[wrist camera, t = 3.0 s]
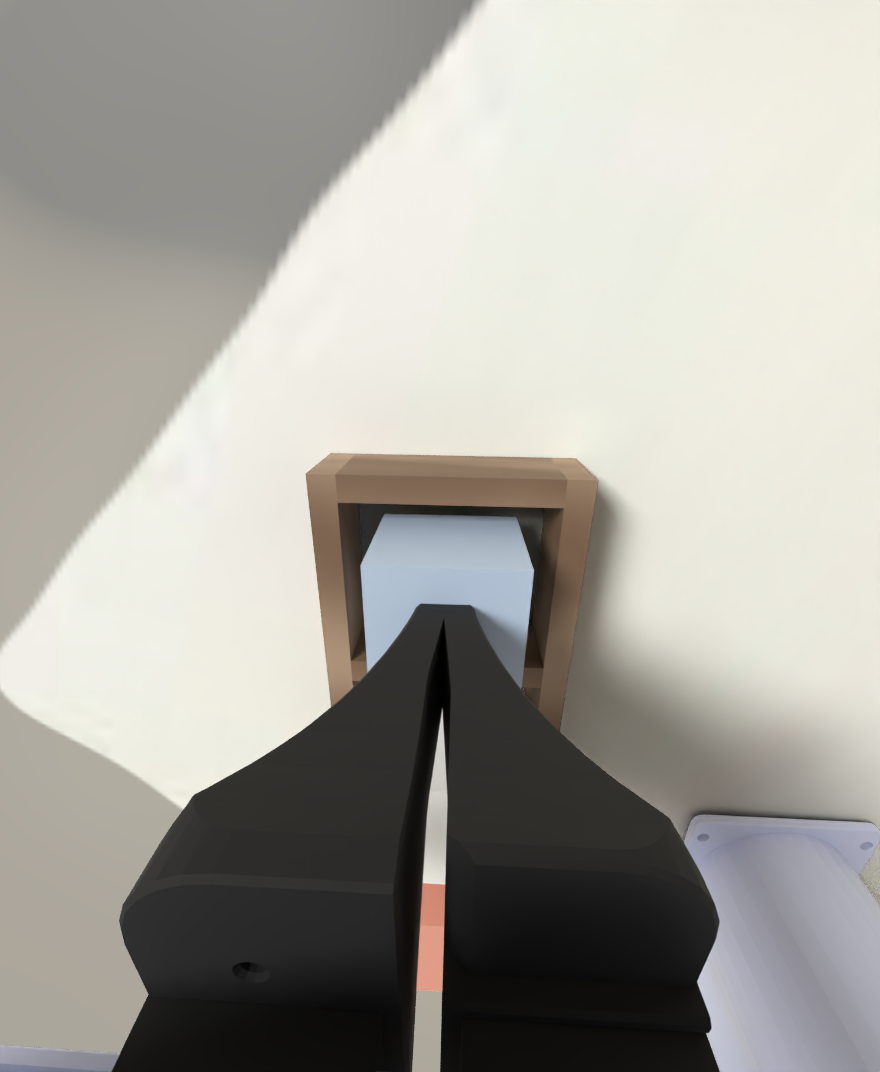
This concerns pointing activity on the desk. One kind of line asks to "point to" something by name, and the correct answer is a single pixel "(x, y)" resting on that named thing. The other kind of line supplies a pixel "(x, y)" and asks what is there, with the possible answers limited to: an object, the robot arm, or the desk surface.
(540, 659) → the frame
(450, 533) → the key blue
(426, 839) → the key white
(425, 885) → the key terracotta
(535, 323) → the desk surface
